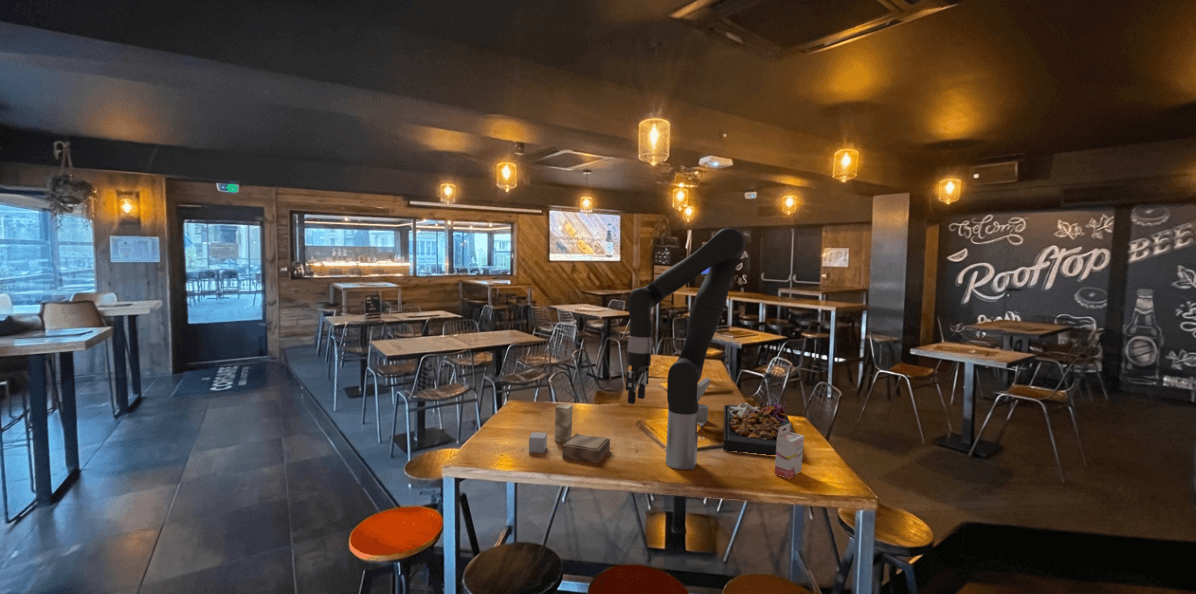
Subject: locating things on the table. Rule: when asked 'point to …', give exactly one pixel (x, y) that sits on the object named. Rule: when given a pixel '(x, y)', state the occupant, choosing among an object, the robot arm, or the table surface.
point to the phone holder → (702, 408)
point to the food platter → (753, 428)
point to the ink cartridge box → (788, 452)
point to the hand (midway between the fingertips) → (636, 401)
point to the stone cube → (538, 442)
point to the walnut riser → (586, 448)
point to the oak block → (563, 422)
